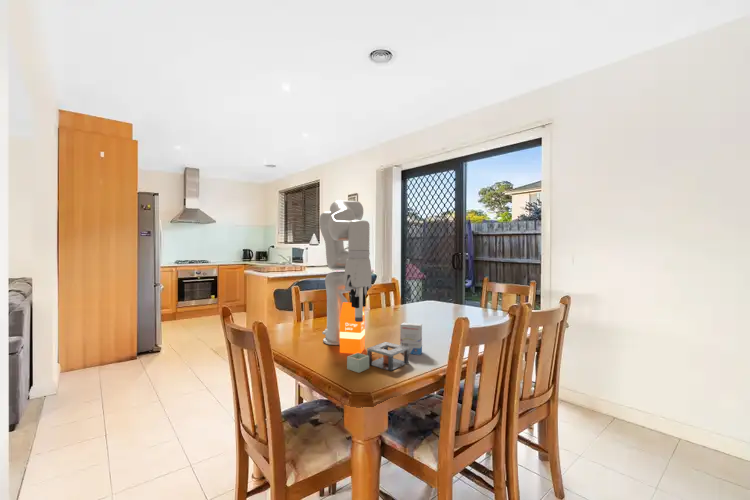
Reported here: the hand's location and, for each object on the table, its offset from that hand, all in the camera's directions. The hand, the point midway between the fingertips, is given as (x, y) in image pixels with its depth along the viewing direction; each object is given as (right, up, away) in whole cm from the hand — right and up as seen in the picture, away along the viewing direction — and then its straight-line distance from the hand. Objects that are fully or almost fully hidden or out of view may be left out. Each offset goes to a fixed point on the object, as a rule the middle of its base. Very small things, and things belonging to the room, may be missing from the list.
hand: (358, 306), depth 126 cm
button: (+11, -22, +6) cm, 25 cm away
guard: (+11, -22, +6) cm, 25 cm away
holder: (0, -22, +1) cm, 22 cm away
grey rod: (0, -5, 0) cm, 5 cm away
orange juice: (-4, -22, +22) cm, 31 cm away
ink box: (+21, -22, +20) cm, 36 cm away
